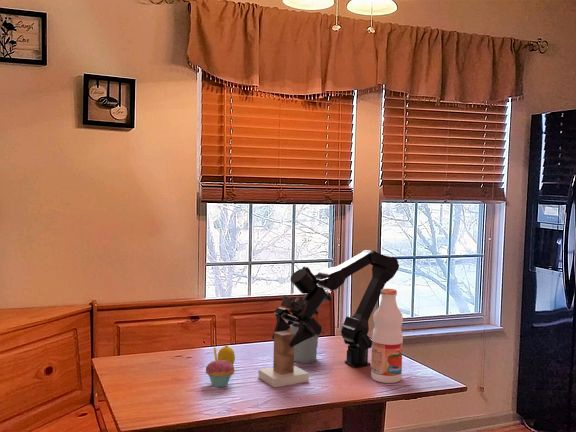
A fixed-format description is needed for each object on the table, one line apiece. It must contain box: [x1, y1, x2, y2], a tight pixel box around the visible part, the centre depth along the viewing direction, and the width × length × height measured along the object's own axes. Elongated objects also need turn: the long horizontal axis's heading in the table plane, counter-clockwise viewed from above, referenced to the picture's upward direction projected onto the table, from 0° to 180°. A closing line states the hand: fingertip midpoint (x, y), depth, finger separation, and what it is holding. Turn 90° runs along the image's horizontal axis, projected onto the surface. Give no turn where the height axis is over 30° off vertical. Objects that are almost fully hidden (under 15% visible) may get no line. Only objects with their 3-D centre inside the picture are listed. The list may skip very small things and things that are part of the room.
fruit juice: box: [370, 288, 404, 384], centre depth 182 cm, size 9×9×28 cm
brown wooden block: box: [272, 330, 295, 375], centre depth 179 cm, size 4×4×12 cm
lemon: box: [217, 345, 236, 365], centre depth 187 cm, size 6×6×8 cm
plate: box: [258, 365, 310, 388], centre depth 180 cm, size 12×10×2 cm
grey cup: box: [289, 322, 320, 364], centre depth 201 cm, size 10×10×12 cm
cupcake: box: [205, 345, 236, 388], centre depth 174 cm, size 9×8×12 cm
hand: (281, 342), depth 179 cm, fingers open, 9 cm apart
